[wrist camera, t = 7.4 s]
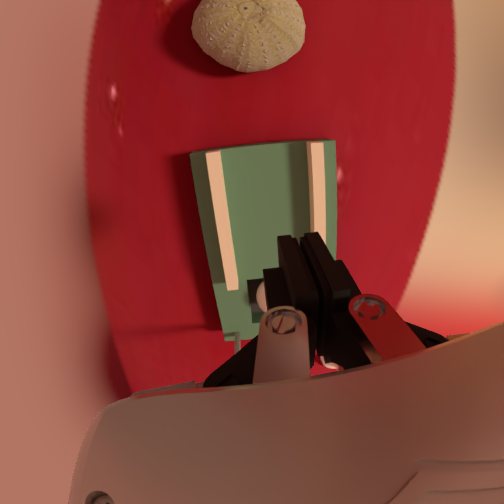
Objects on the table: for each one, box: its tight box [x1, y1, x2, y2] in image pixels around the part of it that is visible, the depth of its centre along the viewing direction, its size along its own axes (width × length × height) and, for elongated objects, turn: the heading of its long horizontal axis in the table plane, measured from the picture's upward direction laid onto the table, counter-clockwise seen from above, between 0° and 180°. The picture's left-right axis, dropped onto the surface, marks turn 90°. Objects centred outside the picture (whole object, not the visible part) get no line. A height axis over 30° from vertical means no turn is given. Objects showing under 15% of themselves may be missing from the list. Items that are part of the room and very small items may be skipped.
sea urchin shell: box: [191, 0, 306, 73], centre depth 17 cm, size 9×8×8 cm
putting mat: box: [190, 139, 337, 354], centre depth 21 cm, size 20×14×14 cm
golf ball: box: [256, 281, 267, 312], centre depth 28 cm, size 4×4×4 cm
